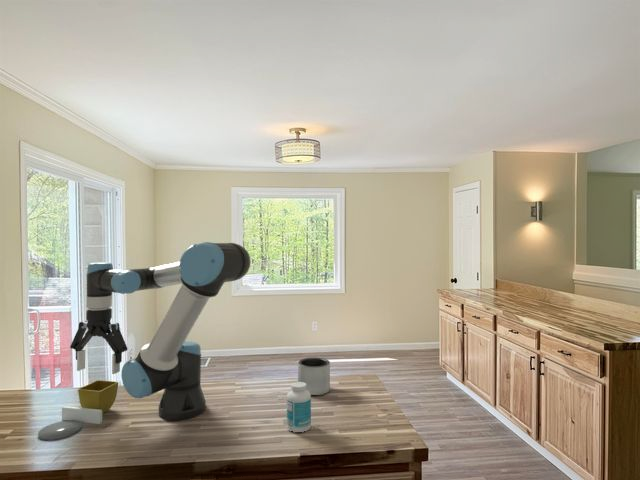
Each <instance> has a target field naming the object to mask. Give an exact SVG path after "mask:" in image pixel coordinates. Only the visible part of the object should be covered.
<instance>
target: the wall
mask: <svg viewBox="0 0 640 480" xmlns="http://www.w3.org/2000/svg"><path fill="white" fill-rule="evenodd" d="M67 420H76V421H80V422H81V423H89V424H96V425H97V424H98V425H100V424H102V423H103V413H102V410H98V409H89V408H82V407H80V406H79V407H77V406H68V405H64V406H62V407H61V421H67Z"/></svg>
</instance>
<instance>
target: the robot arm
mask: <svg viewBox="0 0 640 480" xmlns="http://www.w3.org/2000/svg"><path fill="white" fill-rule="evenodd" d="M113 267H114V266H113V264H112V262H90V263H89V264H88V265H87V271H86V272H87V273H86V304H85V305H86V308H87V310H86V315H85V316H86V318H85V319H86V320H83V321H80V322H79V323H78V326H77V330H76V333H75V335H74V338H73V339H72V342H71V344H70V347H69V348H70V349H71V350H72V349H73V350H74V351H75V360H76V371H78V372H80V371H82V370H84V369H86V348H85V347H86V345H88V343H89V342H90V340H91V339H92V338H93V337H102V339H104V340H105V341H106V343H107V344H108V346H109V347H110V349H111V350H112V351H113V354H112V356H111V357H112V358H111V364H112V365H111V374H112V375H115V374H117V373H119V372H120V371H121V373H120V374H121V381H122V385H123V387H124V389H125V391H126V392H127V393H128V395H130V396H131V397H132V398H135V399H143V398H145V397H150V396H152V395H153V394H156V393H158V392H160V391H163V392H162V395H161V398H160V401H159V405H158V416H159V417H160V418H162V419H164V420H169V421H171V420H172V421H173V420H175V421H178V420H186V419H190V418H193V417H196V416H199V415H200V414H202V413H203V412H204V411H205V410H206V406H207V405H206V398H205V396H204V391H203V389H202V386H201V376H202V375H201V371H202V370H201V369H202V367H201V366H202V351H201V349H202V348H201V345H200V344H199V343H197V342H195V341H194V342H193V341H186V339H187V338H188V336H189V334H190V333H191V331H192V329H193V327H194V325H195V323H196V322H197V321H198V318H199V316H200V315H201V313H202V311H203V309H204V308H205V306H206V305H207V303H208V301H209V299H210V298H214V297H216V296H217V295H218V294H219V292H220V290H221V289H222V287H223V285H224V284H225V283H230V282H235V281H238V280H240V279H242V278H244V277H245V276H246V274H247V273H248V272H249V270H250V267H251V256H250V254H249V252H248V250H247V249H246V248H245V247H243V246H242V245H241V244H238V243H235V242H211V241H209V242H208V241H206V242H201V243H195V244H192V245H191V246H189V247H188V248H187V249H185V251H184V252H183V253H182V255H181V257H180V259H179V261H177V262H176V261H175V262H172V263H169V264H163V265H157V266H152V267H145V268H131V269H114V268H113ZM176 285H181V286H180V288H179V290H178V292H177V294H176V295H175V297H174V299H173V301H172V303H171V304H170V306H169V308H168V310H167V312H166V314H165V315H164V318H163V319H162V321H161V323H160V325H159V326H158V327H157V331H156V333H155V334H154V336H153V337H152V340H151V342H149V343H146V344H144V345H142V347H141V348H140V351H139V352H138V354H137V356H136V357H135V358H134V359H129V360H128V361H126V362H125V363H124V364H123V366H122V368H121V369H120V367H121V363H122V361H123V360H122V359H123V358H122V357H123V355H122V354H123V353H124V352H127V351H128V346H127V344H126V341H125V340H124V337H123V334H122V331H121V328H120V323H119V322H115V323H112V322H111V320H112V318H113V317H112V316H113V309H112V306H113V305H112V304H113V293H114V294H115V293H117V294H122V295H124V294H129V295H130V294H133V293H135V292H139V291H144V290H154V289H162V288H165V287H169V286H176ZM87 329H88V330H87Z"/></svg>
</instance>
